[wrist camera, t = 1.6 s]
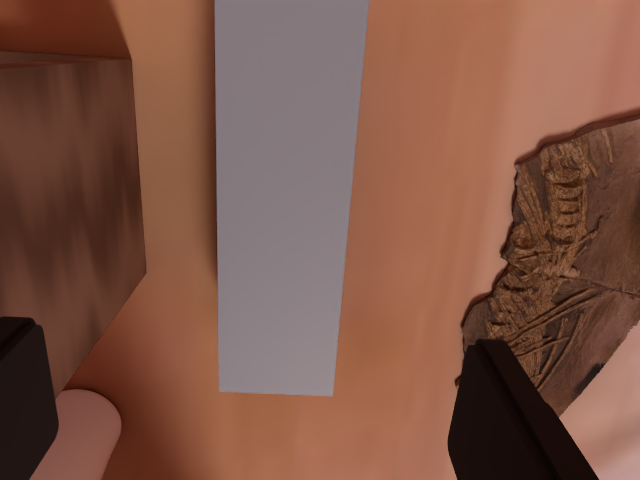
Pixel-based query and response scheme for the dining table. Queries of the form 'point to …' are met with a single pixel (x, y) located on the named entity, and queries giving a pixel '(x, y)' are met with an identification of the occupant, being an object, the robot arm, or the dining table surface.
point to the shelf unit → (68, 198)
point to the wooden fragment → (569, 261)
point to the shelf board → (284, 187)
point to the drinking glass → (81, 437)
